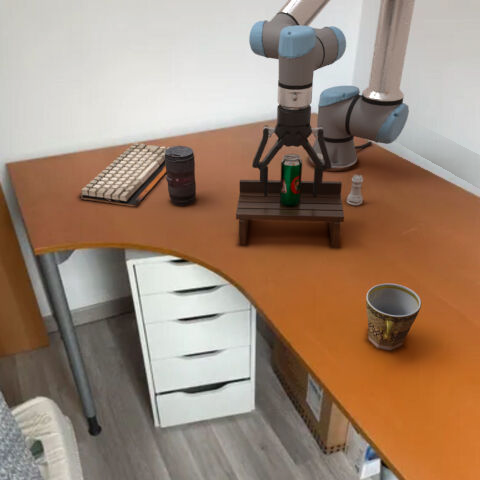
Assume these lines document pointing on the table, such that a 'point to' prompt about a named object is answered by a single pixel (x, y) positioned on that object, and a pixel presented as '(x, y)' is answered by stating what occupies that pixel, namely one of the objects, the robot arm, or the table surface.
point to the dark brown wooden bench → (308, 209)
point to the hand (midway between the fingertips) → (290, 193)
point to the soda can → (290, 180)
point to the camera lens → (180, 174)
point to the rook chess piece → (355, 191)
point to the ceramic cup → (390, 314)
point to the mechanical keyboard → (128, 176)
